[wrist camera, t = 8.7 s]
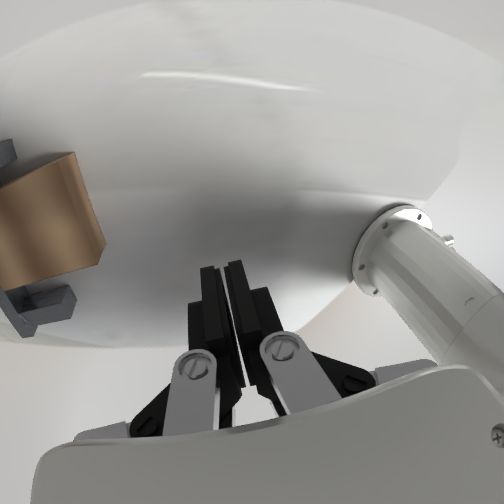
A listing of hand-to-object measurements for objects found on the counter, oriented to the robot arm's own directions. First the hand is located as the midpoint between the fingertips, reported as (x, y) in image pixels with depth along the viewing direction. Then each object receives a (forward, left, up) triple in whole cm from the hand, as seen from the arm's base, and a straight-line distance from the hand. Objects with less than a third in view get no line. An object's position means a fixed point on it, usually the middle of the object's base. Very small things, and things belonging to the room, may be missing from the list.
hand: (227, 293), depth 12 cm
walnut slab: (+16, -1, -15) cm, 22 cm away
